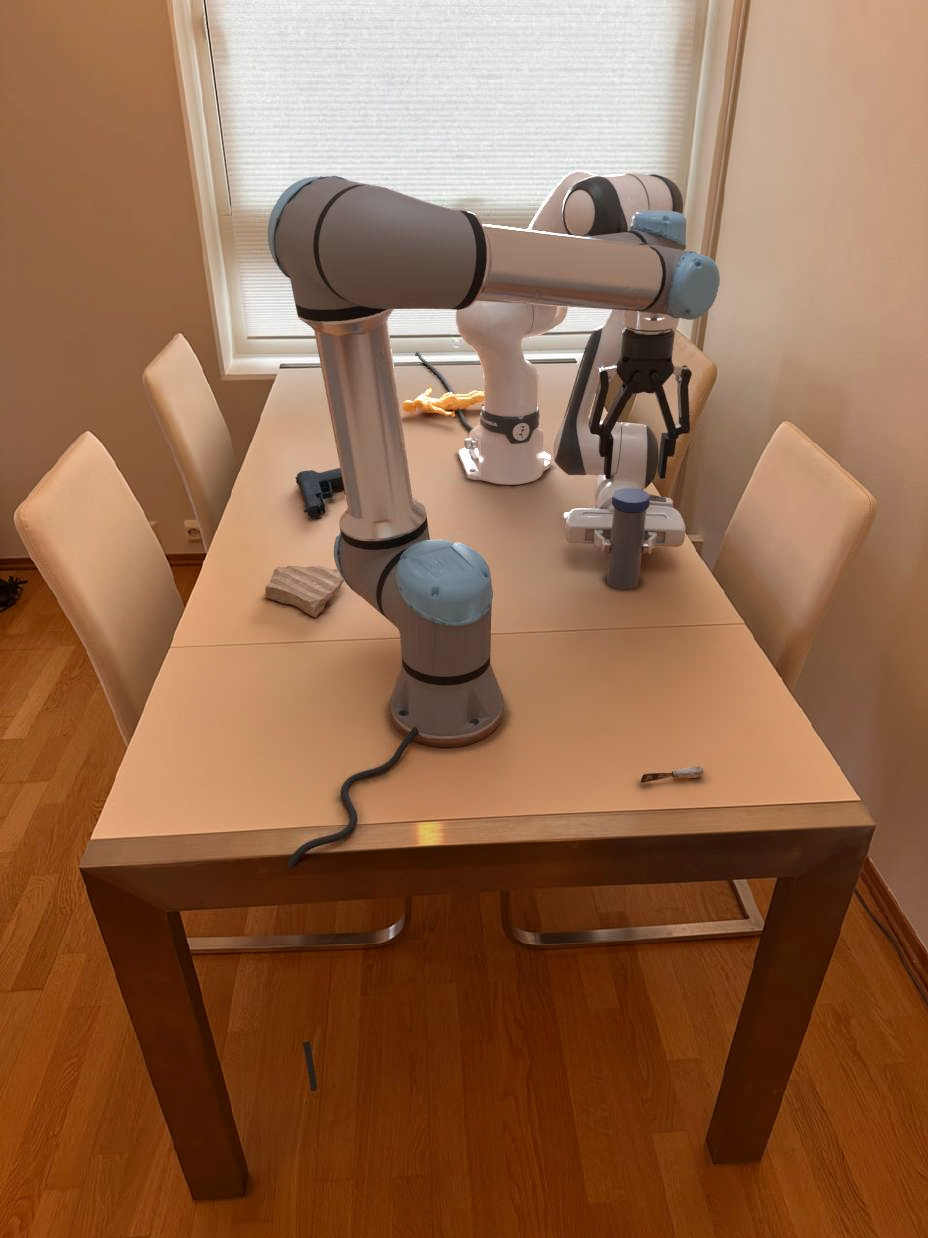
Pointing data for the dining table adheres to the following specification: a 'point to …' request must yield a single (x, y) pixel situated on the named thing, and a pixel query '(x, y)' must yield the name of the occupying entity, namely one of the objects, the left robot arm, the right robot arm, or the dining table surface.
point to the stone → (304, 587)
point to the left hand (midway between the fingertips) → (634, 475)
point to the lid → (631, 500)
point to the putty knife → (674, 774)
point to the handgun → (318, 489)
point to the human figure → (443, 402)
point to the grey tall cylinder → (626, 549)
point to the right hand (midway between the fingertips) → (626, 549)
